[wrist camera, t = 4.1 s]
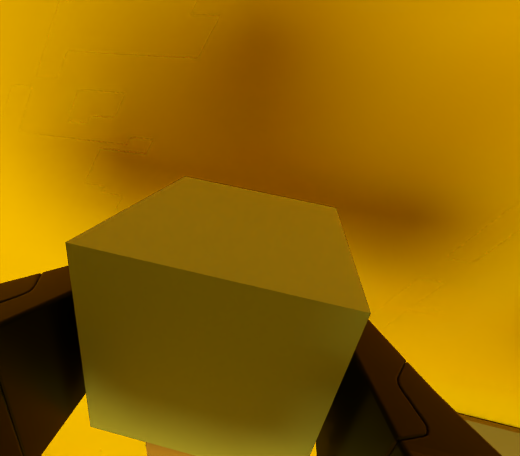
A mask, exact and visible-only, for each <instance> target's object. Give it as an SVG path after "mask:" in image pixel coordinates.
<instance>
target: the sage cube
mask: <svg viewBox="0 0 520 456" xmlns="http://www.w3.org/2000/svg"><path fill="white" fill-rule="evenodd" d="M65 243H66V250H67V257H68V265H69V272H70V279H71V287H72V294H73V301H74V308H75V316H76V323H77V330H78V338H79V345H80V352H81V360H82V367H83V374H84V382H85V389H86V396H87V404H88V411H89V418H90V426H91V427H94V428H97V429H101V430H105V431H108V432H112V433H115V434H119V435H123V436H126V437H130V438H133V439H137V440H141V441H144V442H148V443H151V444H155V445H159V446H162V447H166V448H169V449H173V450H177V451H180V452H184V453H187V454H191V455H195V456H310V454H311V451H312V449H313V447H314V444H315V442H316V440H317V437H318V435H319V433H320V430H321V428H322V426H323V423H324V421H325V419H326V416H327V414H328V412H329V409H330V407H331V405H332V402H333V400H334V398H335V395H336V393H337V391H338V388H339V386H340V384H341V381H342V379H343V377H344V374H345V372H346V370H347V367H348V365H349V363H350V360H351V358H352V356H353V353H354V351H355V349H356V346H357V344H358V342H359V339H360V337H361V335H362V332H363V330H364V328H365V325H366V323H367V321H368V318H369V316H370V314H371V313H370V310H369V307H368V303H367V300H366V297H365V294H364V291H363V288H362V285H361V282H360V279H359V276H358V273H357V270H356V267H355V264H354V261H353V258H352V255H351V252H350V249H349V245H348V242H347V239H346V236H345V233H344V230H343V227H342V224H341V221H340V218H339V215H338V212H337V209H336V208H334V207H330V206H325V205H320V204H315V203H310V202H306V201H301V200H296V199H291V198H286V197H282V196H277V195H272V194H267V193H262V192H258V191H253V190H248V189H243V188H238V187H234V186H229V185H224V184H219V183H214V182H210V181H205V180H200V179H195V178H190V177H186V176H185V177H183V178H181V179H179V180H178V181H176V182H174V183H172V184H170V185H169V186H167V187H165V188H163V189H161V190H160V191H158V192H156V193H154V194H152V195H150V196H149V197H147V198H145V199H143V200H141V201H140V202H138V203H136V204H134V205H132V206H131V207H129V208H127V209H125V210H123V211H121V212H120V213H118V214H116V215H114V216H112V217H111V218H109V219H107V220H105V221H103V222H102V223H100V224H98V225H96V226H94V227H92V228H91V229H89V230H87V231H85V232H83V233H82V234H80V235H78V236H76V237H74V238H73V239H71V240H69V241H67V242H65Z"/></svg>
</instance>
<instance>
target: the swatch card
mask: <svg viewBox="0 0 520 456" xmlns="http://www.w3.org/2000/svg"><path fill="white" fill-rule="evenodd" d="M459 415H460V416H461V417H462V418H463V419H464V420H465V421H466V422H467V423H468V424H469V425H470V426H471V427H472V428H474V429H475V430H476V431H477V432H478V433H479V434H480V435H481V436H482V437H483V438H484V439H485V440H486V441H487V442H488V443H489V444H490V445H491V446H492V447H493V448H495V449H496V450H497V451H498V452H499V453H500V454H501V455H502V456H520V429H518V428H514V427H510V426H506V425H502V424H498V423H494V422H490V421H486V420H482V419H478V418H474V417H470V416H466V415H462V414H459Z"/></svg>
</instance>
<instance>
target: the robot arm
mask: <svg viewBox="0 0 520 456" xmlns="http://www.w3.org/2000/svg"><path fill="white" fill-rule="evenodd" d="M405 362H406V360H405V359H404V358H403V357H402V356H401V354H400V353H399V352H398V351H397V350H396V349H395V348H394V347H393V346H392V345H391V344H390V343H389V341H388V340H387V339H386V338H385V337H384V336H383V335H382V334H381V333H380V332H379V331H378V329H377V328H376V327H375V326H374V325H373V324H372V323H371V322H370V321H369V320H368V321H367V323H366V325H365V328H364V330H363V332H362V335H361V337H360V339H359V342H358V344H357V346H356V349H355V351H354V353H353V356H352V358H351V360H350V363H349V365H348V367H347V370H346V372H345V374H344V377H343V379H342V381H341V384H340V386H339V388H338V391H337V393H336V395H335V398H334V400H333V402H332V405H331V407H330V409H329V412H328V414H327V416H326V419H325V421H324V423H323V426H322V428H321V430H320V433H319V435H318V437H317V440H316V451H317V456H502V455H501V454H500V453H499V452H498V451H497V450H496V449H495V448H493V447H492V446H491V445H490V444H489V443H488V442H487V441H486V440H485V439H484V438H483V437H482V436H481V435H480V434H479V433H478V432H477V431H476V430H475V429H474V428H472V427H471V426H470V425H469V424H468V423H467V422H466V421H465V420H464V419H463V418H462V417H461V416H460V415H459V414H458V413H457V412H456V411H455V410H454V409H453V408H452V407H451V406H450V405H449V404H448V403H447V402H446V401H445V400H444V399H442V398H441V397H440V396H439V395H438V394H437V393H436V392H435V391H434V390H433V388H432V387H431V386H430V385H429V384H428V383H427V382H426V381H425V380H424V379H423V378H422V377H421V376H420V375H419V374H418V373H417V372H416V371H415V369H414V368H413V367H412V366H411V365H410V364H409V363H408V362H406V363H405ZM85 394H86V389H85V382H84V374H83V367H82V360H81V352H80V345H79V338H78V330H77V323H76V316H75V308H74V301H73V294H72V287H71V279H70V272H69V266H65V267H61V268H58V269H54V270H50V271H46V272H43V273H42V274H40V273H39V274H35V275H31V276H28V277H24V278H20V279H16V280H12V281H8V282H4V283H0V456H41V455H42V453H43V452H44V451H45V449H46V448H47V446H48V445H49V444H50V442H51V441H52V439H53V438H54V437H55V435H56V434H57V432H58V431H59V430H60V428H61V427H62V425H63V424H64V423H65V421H66V420H67V419H68V417H69V416H70V414H71V413H72V412H73V410H74V409H75V407H76V406H77V405H78V403H79V402H80V400H81V399H82V398H83V396H84V395H85Z"/></svg>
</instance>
